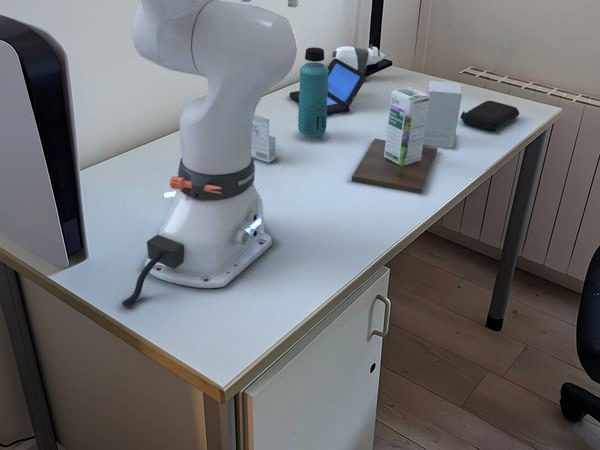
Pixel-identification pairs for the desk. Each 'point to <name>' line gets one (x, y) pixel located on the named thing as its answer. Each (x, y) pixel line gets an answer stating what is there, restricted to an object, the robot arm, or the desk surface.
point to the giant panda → (358, 56)
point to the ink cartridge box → (262, 140)
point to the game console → (340, 87)
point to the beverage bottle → (313, 94)
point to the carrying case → (490, 116)
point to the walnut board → (394, 169)
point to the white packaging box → (442, 113)
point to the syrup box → (406, 125)
